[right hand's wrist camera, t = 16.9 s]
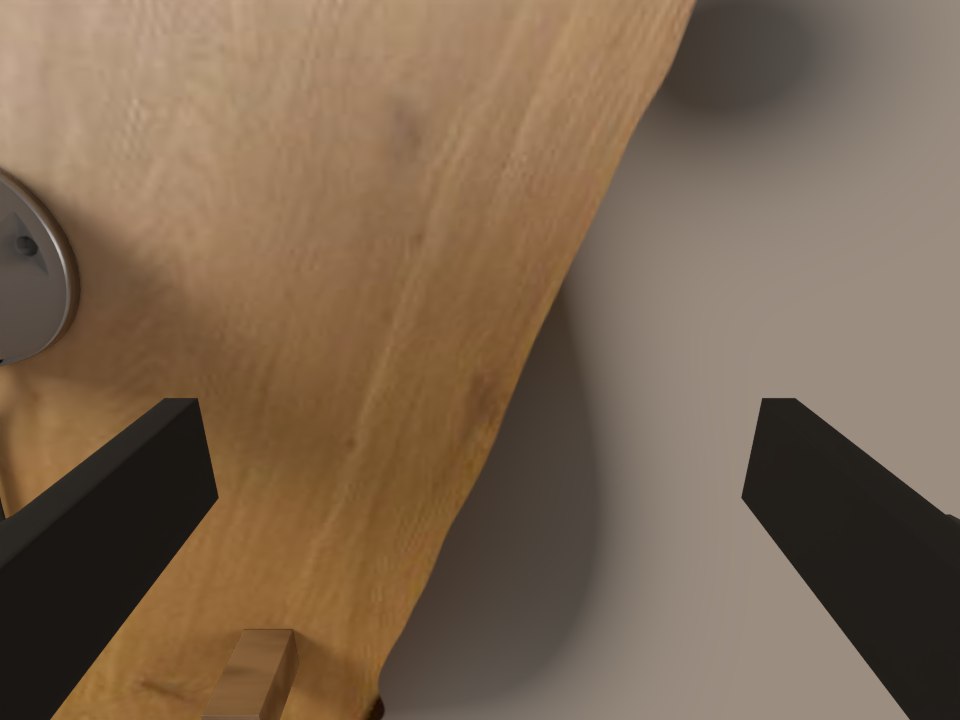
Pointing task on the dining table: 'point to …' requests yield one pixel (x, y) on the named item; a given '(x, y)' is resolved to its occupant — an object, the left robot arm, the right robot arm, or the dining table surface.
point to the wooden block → (255, 678)
